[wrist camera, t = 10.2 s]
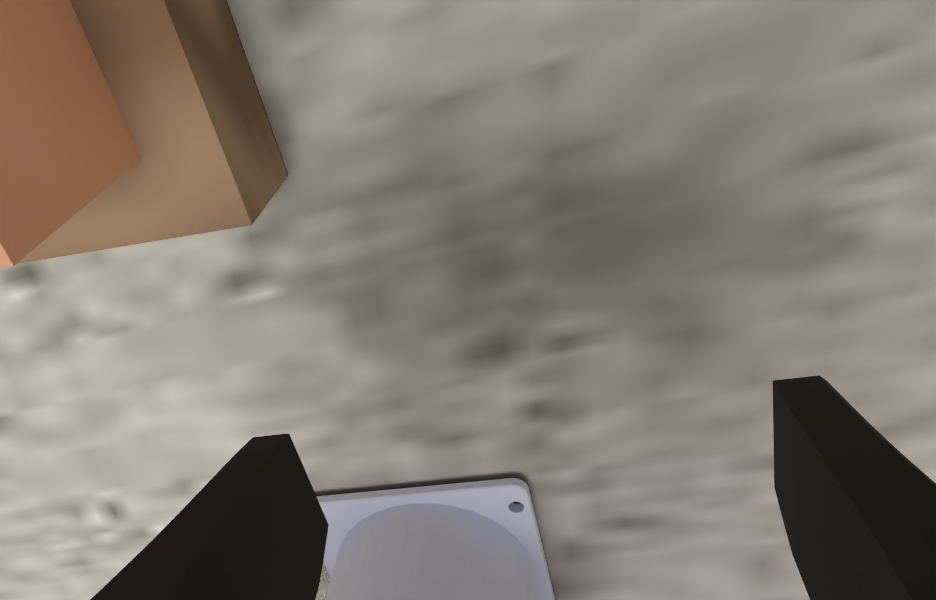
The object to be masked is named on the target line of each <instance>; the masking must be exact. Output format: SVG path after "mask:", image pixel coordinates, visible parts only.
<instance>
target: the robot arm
mask: <svg viewBox="0 0 936 600" xmlns="http://www.w3.org/2000/svg"><path fill="white" fill-rule="evenodd" d="M773 419H774V482H775V491H776V494H777V498H778V502H779V506H780V510H781V514H782V517H783V521H784V525H785V529H786V532H787V536H788V539H789V543H790V547H791V550H792V554H793V557H794V559H795V562H796V564H797V567H798V570H799V572H800V575H801V577H802V580H803V582H804V585H805V587H806V590H807V592H808V595H809V597H810V600H936V483H934V482H933V481H932V480H931V479H930V478H929V477H928V476H926V475H925V474H924V473H923V472H922V471H921V470H920V469H918V468H917V467H916V466H915V465H914V464H913V463H912V462H910V461H909V460H908V459H907V458H906V457H905V456H904V455H903V454H901V453H900V452H899V451H898V450H897V449H896V448H895V447H894V446H893V445H892V444H891V443H889V442H888V441H887V440H886V439H885V438H884V437H883V436H882V435H881V434H880V433H879V432H878V431H877V430H876V429H875V428H874V427H873V426H872V425H870V424H869V423H868V422H867V421H866V420H865V419H864V418H863V417H862V416H861V415H860V414H859V413H858V412H857V411H856V410H855V409H854V408H853V407H852V406H851V405H850V404H849V403H848V402H847V401H846V400H845V399H844V398H843V397H842V396H841V395H840V394H839V393H838V392H837V391H836V390H835V389H834V388H833V387H832V386H831V385H830V384H829V383H828V382H827V381H826V380H825V379H823V378H822V377H821V376H812V377H803V378H794V379H784V380H775V381H773ZM512 502H520V504H513V503H512ZM323 562H324V565H325V567H326V569H327V571H328V573H329V576H330V578H331V580H330V584H329V587H328V591H327V594H326V598H325V600H555V596H554V592H553V588H552V584H551V580H550V575H549V571H548V567H547V563H546V559H545V554H544V550H543V546H542V542H541V537H540V533H539V529H538V525H537V521H536V516H535V512H534V508H533V504H532V500H531V495H530V491H529V487H528V485H527V484H526V483H525V482H524V481H523V480H520V479H517V478H507V479H496V480H486V481H475V482H464V483H454V484H443V485H433V486H422V487H411V488H401V489H390V490H379V491H369V492H358V493H348V494H337V495H326V496H316V495H315V492H314V490H313V488H312V485H311V483H310V481H309V479H308V476H307V474H306V472H305V469H304V467H303V465H302V462H301V460H300V458H299V456H298V453H297V451H296V449H295V446H294V444H293V442H292V439H291V437H290V435H289V434H280V435H271V436H262V437H253V438H252V439H251V440H250V441H249V442H248V443H247V444H246V445H245V446H243V447H242V448H241V449H240V450H239V451H238V452H237V453H236V454H235V455H234V456H233V457H232V458H231V460H230V461H229V462H228V463H227V464H226V465H225V466H224V467H223V468H222V469H221V470H220V471H219V472H218V473H217V474H216V475H215V476H214V477H213V478H212V479H211V480H210V481H209V482H208V484H207V485H206V486H205V487H204V488H203V489H202V490H201V491H200V492H199V493H198V494H197V495H196V496H195V497H194V498H193V499H192V500H191V501H190V502H189V503H188V504H187V505H186V506H185V508H184V509H183V510H182V511H181V512H180V513H179V514H178V515H177V516H176V517H175V518H174V519H173V520H172V521H171V522H170V523H169V524H168V525H167V526H166V527H165V528H164V529H163V530H162V531H161V532H160V533H159V534H158V535H157V536H156V537H155V538H154V539H153V540H152V541H151V542H150V543H149V544H148V545H147V546H146V547H145V548H144V549H143V550H142V551H141V552H140V553H139V554H138V555H137V556H136V557H135V558H134V559H133V560H132V561H131V562H130V563H129V564H128V565H126V566H125V567H124V568H123V569H122V570H121V571H120V572H119V573H118V574H117V575H116V576H115V577H114V578H113V579H112V580H111V581H110V582H109V583H108V584H107V585H106V586H105V587H104V588H103V589H101V590H100V591H99V592H98V593H97V594H96V595H95V596H94V597H93V598H92V599H91V600H315V598H316V594H317V591H318V587H319V582H320V576H321V571H322V565H323Z"/></svg>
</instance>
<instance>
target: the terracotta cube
mask: <svg viewBox="0 0 936 600" xmlns="http://www.w3.org/2000/svg"><path fill="white" fill-rule="evenodd" d="M139 160H141V158H140V156H139V154H138V152H137V149H136V147H135V145H134V143H133V140H132V138H131V136H130V134H129V131H128V129H127V127H126V125H125V123H124V120H123V118H122V116H121V114H120V111H119V109H118V107H117V105H116V103H115V100H114V98H113V96H112V94H111V91H110V89H109V87H108V85H107V82H106V80H105V78H104V76H103V74H102V71H101V69H100V67H99V65H98V62H97V60H96V58H95V56H94V53H93V51H92V49H91V47H90V45H89V42H88V40H87V38H86V36H85V33H84V31H83V29H82V27H81V24H80V22H79V20H78V18H77V16H76V13H75V11H74V9H73V7H72V4H71V2H70V0H0V268H4V267H11V266H14V265H16V264H17V263H18V262H19V261H20V260H21V259H23V258H24V257H25V256H26V255H27V254H29V253H30V252H31V251H32V250H33V249H35V248H36V247H37V246H38V245H39V244H41V243H42V242H43V241H44V240H45V239H46V238H48V237H49V236H50V235H51V234H52V233H54V232H55V231H56V230H57V229H58V228H60V227H61V226H62V225H63V224H64V223H66V222H67V221H68V220H69V219H70V218H72V217H73V216H74V215H75V214H76V213H77V212H79V211H80V210H81V209H82V208H83V207H85V206H86V205H87V204H88V203H89V202H91V201H92V200H93V199H94V198H95V197H97V196H98V195H99V194H100V193H101V192H103V191H104V190H105V189H106V188H107V187H108V186H110V185H111V184H112V183H113V182H114V181H116V180H117V179H118V178H119V177H120V176H122V175H123V174H124V173H125V172H126V171H128V170H129V169H130V168H131V167H132V166H133V165H135V164H136V163H137V162H138V161H139Z"/></svg>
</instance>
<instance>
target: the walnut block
mask: <svg viewBox="0 0 936 600" xmlns="http://www.w3.org/2000/svg"><path fill="white" fill-rule="evenodd" d="M70 2H71V4H72V7H73V9H74V11H75V13H76V16H77V18H78V20H79V22H80V24H81V27H82V29H83V31H84V33H85V36H86V38H87V40H88V42H89V45H90V47H91V49H92V51H93V53H94V56H95V58H96V60H97V62H98V65H99V67H100V69H101V71H102V74H103V76H104V78H105V80H106V82H107V85H108V87H109V89H110V91H111V94H112V96H113V98H114V100H115V103H116V105H117V107H118V109H119V111H120V114H121V116H122V118H123V120H124V123H125V125H126V127H127V129H128V131H129V134H130V136H131V138H132V140H133V143H134V145H135V147H136V149H137V152H138V154H139V156H140V158H141V160H139V161H138V162H137V163H136V164H135V165H133V166H132V167H131V168H130V169H129V170H128V171H126V172H125V173H124V174H123V175H122V176H120V177H119V178H118V179H117V180H116V181H114V182H113V183H112V184H111V185H110V186H108V187H107V188H106V189H105V190H104V191H103V192H101V193H100V194H99V195H98V196H97V197H95V198H94V199H93V200H92V201H91V202H89V203H88V204H87V205H86V206H85V207H83V208H82V209H81V210H80V211H79V212H77V213H76V214H75V215H74V216H73V217H72V218H70V219H69V220H68V221H67V222H66V223H64V224H63V225H62V226H61V227H60V228H58V229H57V230H56V231H55V232H54V233H52V234H51V235H50V236H49V237H48V238H46V239H45V240H44V241H43V242H42V243H41V244H39V245H38V246H37V247H36V248H35V249H33V250H32V251H31V252H30V253H29V254H27V255H26V256H25V257H24V258H23V259H21V260H20V261H19V262H18V263H24V262H30V261H36V260H42V259H48V258H54V257H60V256H66V255H72V254H79V253H85V252H91V251H97V250H103V249H109V248H115V247H121V246H127V245H133V244H139V243H145V242H151V241H157V240H163V239H169V238H176V237H182V236H188V235H194V234H200V233H206V232H212V231H218V230H224V229H230V228H236V227H242V226H248V225H252V224H253V223H254V221H255V220H256V219H257V217H258V216H259V215H260V213H261V212H262V210H263V209H264V208H265V206H266V205H267V204H268V202H269V201H270V199H271V198H272V197H273V195H274V194H275V193H276V191H277V190H278V188H279V187H280V186H281V184H282V183H283V182H284V180H285V179H286V177H287V176H288V175H287V172H286V169H285V166H284V163H283V161H282V158H281V155H280V152H279V149H278V146H277V144H276V141H275V138H274V135H273V132H272V129H271V127H270V124H269V121H268V118H267V115H266V113H265V110H264V107H263V104H262V101H261V98H260V96H259V93H258V90H257V87H256V84H255V81H254V79H253V76H252V73H251V70H250V67H249V64H248V62H247V59H246V56H245V53H244V50H243V48H242V45H241V42H240V39H239V36H238V33H237V31H236V28H235V25H234V22H233V19H232V16H231V14H230V11H229V8H228V5H227V2H226V0H70ZM18 263H17V264H18Z"/></svg>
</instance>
